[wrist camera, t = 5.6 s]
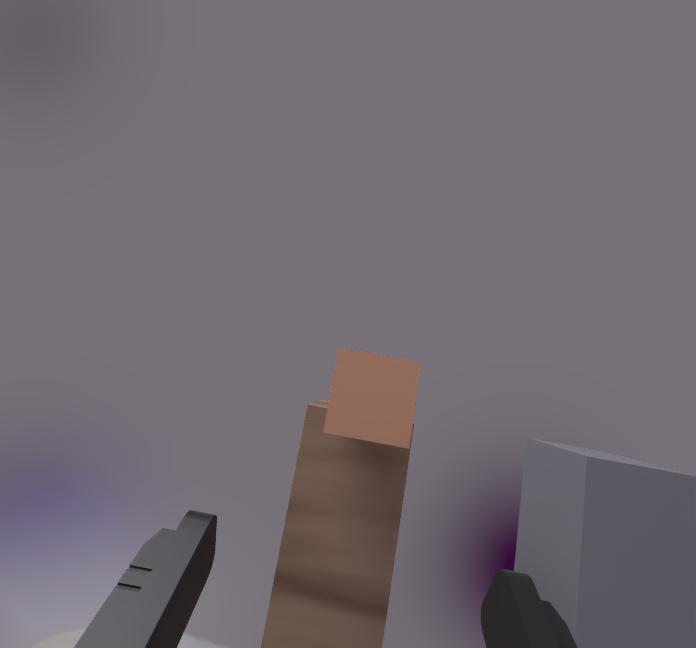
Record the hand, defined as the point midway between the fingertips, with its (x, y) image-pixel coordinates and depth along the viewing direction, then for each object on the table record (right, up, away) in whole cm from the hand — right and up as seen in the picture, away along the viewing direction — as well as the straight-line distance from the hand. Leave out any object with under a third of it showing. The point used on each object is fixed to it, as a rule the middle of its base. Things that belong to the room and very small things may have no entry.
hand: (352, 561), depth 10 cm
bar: (+1, 0, +16) cm, 16 cm away
